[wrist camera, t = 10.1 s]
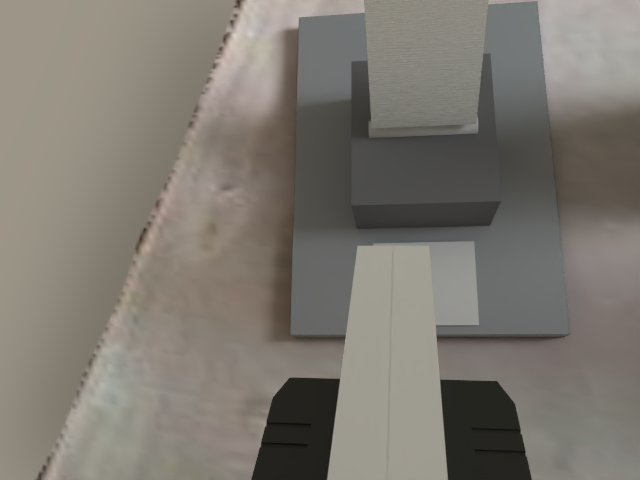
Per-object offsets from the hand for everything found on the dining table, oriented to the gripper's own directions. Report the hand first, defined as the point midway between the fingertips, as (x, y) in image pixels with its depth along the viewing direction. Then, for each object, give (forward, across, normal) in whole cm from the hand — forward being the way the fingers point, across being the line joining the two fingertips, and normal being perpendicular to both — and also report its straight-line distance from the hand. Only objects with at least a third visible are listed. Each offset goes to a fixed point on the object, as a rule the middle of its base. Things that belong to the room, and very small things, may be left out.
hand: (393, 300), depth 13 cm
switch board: (+27, +1, -8) cm, 28 cm away
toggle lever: (+23, +1, -4) cm, 23 cm away
